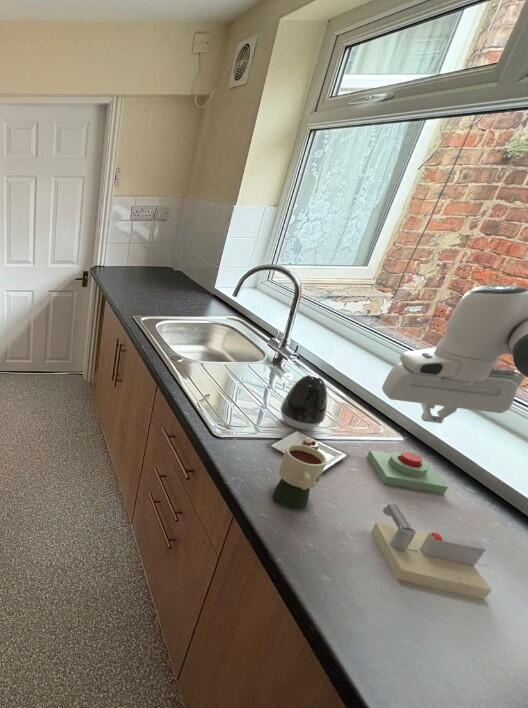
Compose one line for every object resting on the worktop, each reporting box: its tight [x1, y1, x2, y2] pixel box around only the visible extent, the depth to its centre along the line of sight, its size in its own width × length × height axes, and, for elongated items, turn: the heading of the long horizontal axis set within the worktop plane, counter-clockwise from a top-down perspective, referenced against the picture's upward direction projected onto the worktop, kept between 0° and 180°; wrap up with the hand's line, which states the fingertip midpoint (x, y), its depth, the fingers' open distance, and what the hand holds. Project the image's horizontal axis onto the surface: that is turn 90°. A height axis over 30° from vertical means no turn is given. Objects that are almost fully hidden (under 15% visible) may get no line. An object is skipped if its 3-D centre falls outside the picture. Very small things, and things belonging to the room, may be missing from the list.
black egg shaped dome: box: [280, 374, 328, 431], centre depth 112 cm, size 10×10×15 cm
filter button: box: [399, 451, 423, 467], centre depth 95 cm, size 4×4×2 cm
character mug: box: [272, 444, 327, 510], centre depth 87 cm, size 11×7×13 cm, turn 157°
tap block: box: [371, 522, 492, 600], centre depth 74 cm, size 14×11×4 cm
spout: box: [382, 503, 417, 551], centre depth 77 cm, size 2×8×5 cm, turn 161°
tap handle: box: [420, 531, 486, 567], centre depth 72 cm, size 7×2×4 cm, turn 71°
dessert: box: [270, 430, 347, 471], centre depth 103 cm, size 12×12×5 cm
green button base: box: [366, 449, 449, 495], centre depth 96 cm, size 11×10×4 cm
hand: (430, 420), depth 90 cm, fingers closed
